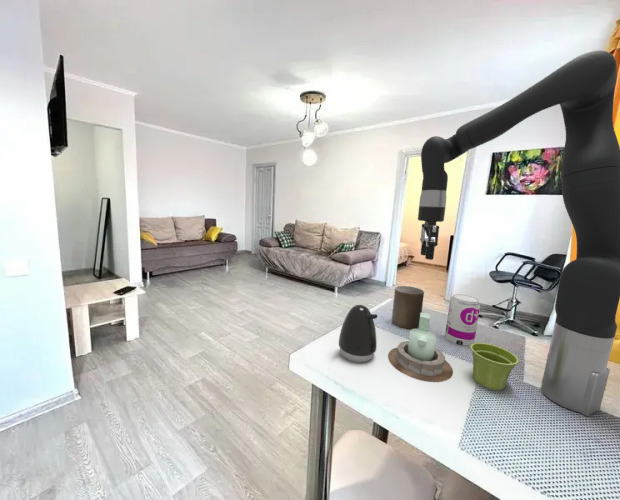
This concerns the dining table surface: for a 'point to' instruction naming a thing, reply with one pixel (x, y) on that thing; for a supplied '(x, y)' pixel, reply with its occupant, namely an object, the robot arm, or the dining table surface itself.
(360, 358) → the dark rounded figure
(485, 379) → the plant pot
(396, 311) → the pillar candle
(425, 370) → the stone ring brown dish
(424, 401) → the dining table surface
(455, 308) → the supplement can
